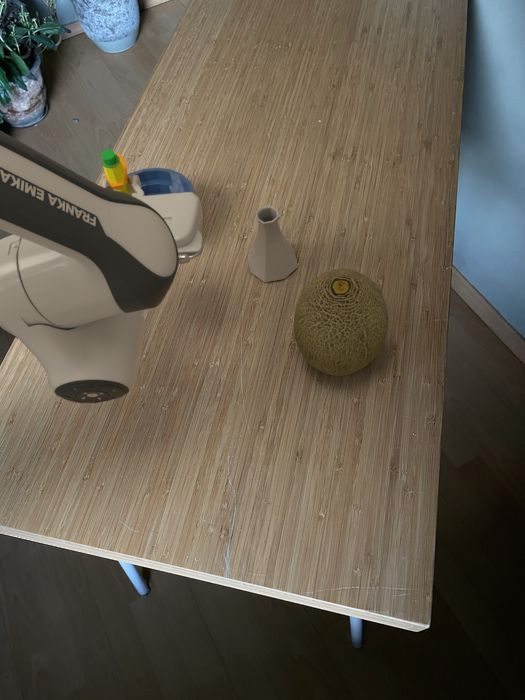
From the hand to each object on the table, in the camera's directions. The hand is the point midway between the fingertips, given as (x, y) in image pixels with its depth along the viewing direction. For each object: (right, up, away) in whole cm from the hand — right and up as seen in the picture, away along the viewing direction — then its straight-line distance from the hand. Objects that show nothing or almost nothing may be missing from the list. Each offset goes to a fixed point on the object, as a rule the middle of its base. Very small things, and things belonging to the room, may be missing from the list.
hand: (122, 180), depth 73 cm
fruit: (+27, -21, +4) cm, 35 cm away
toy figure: (+1, -4, +5) cm, 7 cm away
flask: (+19, -8, +13) cm, 24 cm away
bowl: (+1, -1, +19) cm, 19 cm away
